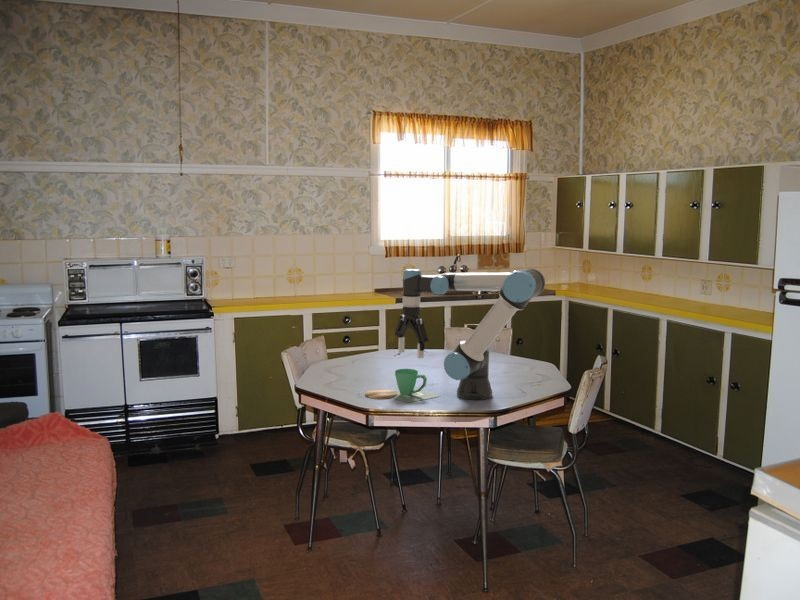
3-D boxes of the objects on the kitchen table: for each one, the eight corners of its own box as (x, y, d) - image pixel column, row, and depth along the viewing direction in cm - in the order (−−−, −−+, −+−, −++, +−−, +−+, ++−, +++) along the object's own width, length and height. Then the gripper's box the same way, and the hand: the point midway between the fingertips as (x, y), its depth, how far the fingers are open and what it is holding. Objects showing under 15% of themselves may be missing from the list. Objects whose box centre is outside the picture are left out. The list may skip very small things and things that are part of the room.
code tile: (440, 396, 313) (440, 396, 313) (406, 403, 303) (406, 402, 303) (415, 387, 328) (415, 387, 328) (381, 393, 317) (381, 393, 317)
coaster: (404, 395, 314) (404, 394, 314) (376, 400, 306) (376, 399, 306) (385, 388, 326) (385, 387, 325) (358, 393, 317) (358, 392, 317)
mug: (390, 394, 315) (390, 372, 313) (401, 389, 323) (402, 367, 322) (420, 399, 307) (421, 376, 306) (431, 394, 316) (431, 371, 314)
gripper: (436, 308, 302) (435, 359, 305) (401, 301, 322) (400, 349, 325) (422, 310, 298) (421, 361, 301) (387, 302, 318) (386, 350, 321)
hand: (410, 355), depth 313 cm, fingers open, 13 cm apart
